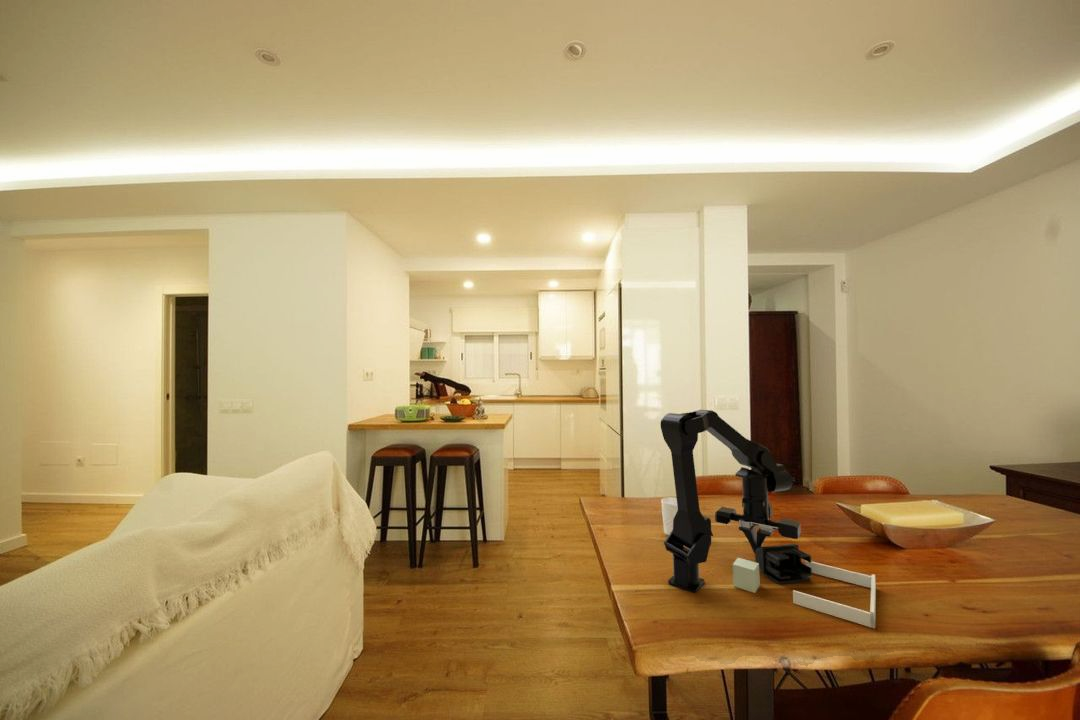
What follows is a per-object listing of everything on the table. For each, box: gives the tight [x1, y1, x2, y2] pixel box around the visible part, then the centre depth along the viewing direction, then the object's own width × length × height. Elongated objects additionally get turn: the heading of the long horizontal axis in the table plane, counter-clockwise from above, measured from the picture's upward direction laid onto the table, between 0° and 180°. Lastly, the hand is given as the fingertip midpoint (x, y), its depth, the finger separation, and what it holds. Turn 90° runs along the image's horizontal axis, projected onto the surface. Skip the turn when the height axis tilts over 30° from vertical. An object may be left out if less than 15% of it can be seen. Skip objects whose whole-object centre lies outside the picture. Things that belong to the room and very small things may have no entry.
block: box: [732, 557, 761, 594], centre depth 90 cm, size 4×4×5 cm
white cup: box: [660, 496, 678, 537], centre depth 121 cm, size 8×8×10 cm
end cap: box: [754, 543, 813, 585], centre depth 94 cm, size 10×7×7 cm
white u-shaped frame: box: [792, 560, 877, 629], centre depth 85 cm, size 19×13×3 cm
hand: (757, 555), depth 99 cm, fingers closed
